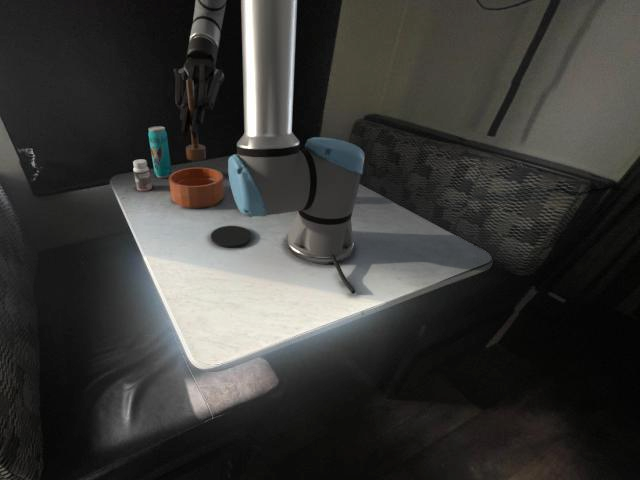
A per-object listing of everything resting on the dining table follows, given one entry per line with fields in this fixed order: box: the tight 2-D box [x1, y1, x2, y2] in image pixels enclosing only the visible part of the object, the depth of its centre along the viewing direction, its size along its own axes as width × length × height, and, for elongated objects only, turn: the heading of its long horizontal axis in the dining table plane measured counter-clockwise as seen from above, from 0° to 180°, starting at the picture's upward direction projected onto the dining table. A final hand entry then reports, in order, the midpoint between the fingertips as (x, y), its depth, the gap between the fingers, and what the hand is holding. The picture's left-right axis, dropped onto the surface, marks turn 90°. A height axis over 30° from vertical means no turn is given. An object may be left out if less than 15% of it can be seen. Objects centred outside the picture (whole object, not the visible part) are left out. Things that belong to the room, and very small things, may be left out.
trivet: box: [210, 225, 252, 249], centre depth 82 cm, size 10×10×1 cm
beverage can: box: [148, 125, 172, 179], centre depth 110 cm, size 6×6×15 cm
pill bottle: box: [132, 158, 153, 191], centre depth 104 cm, size 5×5×8 cm
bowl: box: [168, 167, 225, 209], centre depth 98 cm, size 16×16×6 cm
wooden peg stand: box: [185, 78, 207, 162], centre depth 86 cm, size 5×5×18 cm
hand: (189, 134), depth 84 cm, fingers closed on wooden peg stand, 2 cm apart
